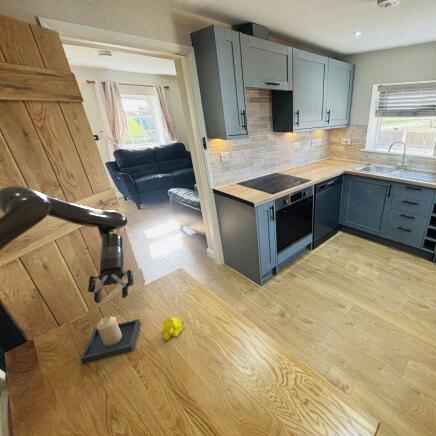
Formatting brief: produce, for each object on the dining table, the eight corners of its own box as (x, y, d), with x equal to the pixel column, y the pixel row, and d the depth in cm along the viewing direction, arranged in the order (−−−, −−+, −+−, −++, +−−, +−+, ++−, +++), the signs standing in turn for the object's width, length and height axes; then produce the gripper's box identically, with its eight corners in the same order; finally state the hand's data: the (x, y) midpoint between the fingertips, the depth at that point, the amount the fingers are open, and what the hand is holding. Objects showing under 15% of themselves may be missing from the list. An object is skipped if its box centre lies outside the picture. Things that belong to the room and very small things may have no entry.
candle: (100, 342, 86) (91, 322, 82) (116, 331, 90) (109, 311, 86) (109, 348, 83) (100, 328, 79) (125, 337, 88) (117, 317, 84)
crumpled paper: (186, 324, 95) (182, 309, 91) (172, 341, 87) (168, 326, 84) (173, 321, 96) (169, 306, 93) (159, 337, 89) (154, 322, 85)
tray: (82, 363, 79) (80, 359, 78) (96, 333, 90) (94, 328, 89) (132, 350, 84) (131, 345, 83) (140, 323, 95) (138, 318, 94)
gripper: (85, 260, 91) (83, 304, 86) (128, 254, 95) (129, 295, 90) (95, 264, 97) (93, 305, 92) (135, 258, 102) (135, 296, 97)
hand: (111, 300), depth 91 cm, fingers open, 8 cm apart
